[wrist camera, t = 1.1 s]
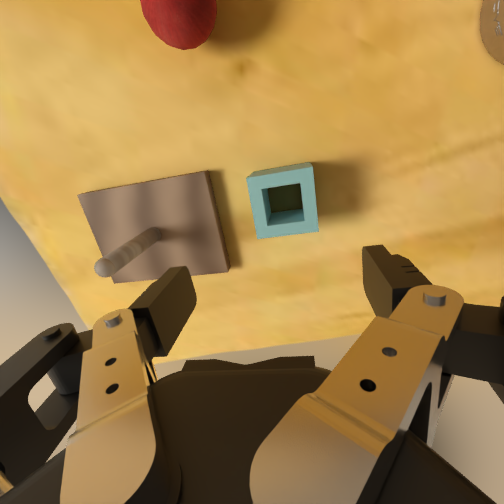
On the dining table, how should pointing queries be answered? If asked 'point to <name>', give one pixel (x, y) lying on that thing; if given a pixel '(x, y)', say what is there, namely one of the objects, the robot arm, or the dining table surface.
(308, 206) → the bead
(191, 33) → the onion
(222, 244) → the stand
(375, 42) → the dining table surface
